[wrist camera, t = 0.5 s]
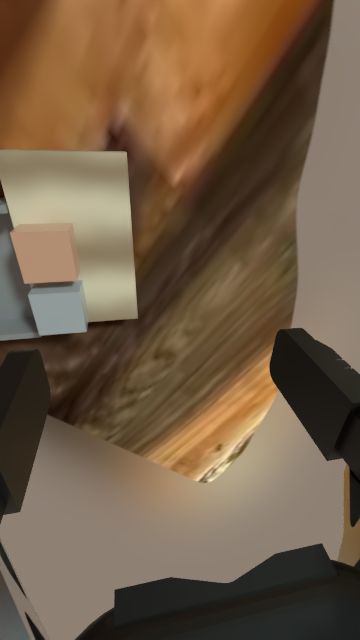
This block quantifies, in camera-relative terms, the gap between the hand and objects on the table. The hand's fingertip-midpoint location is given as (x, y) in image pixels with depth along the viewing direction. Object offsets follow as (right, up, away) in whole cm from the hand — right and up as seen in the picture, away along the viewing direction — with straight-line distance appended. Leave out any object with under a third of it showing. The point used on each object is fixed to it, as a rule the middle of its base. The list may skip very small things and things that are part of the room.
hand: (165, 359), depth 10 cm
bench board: (-9, +9, +17) cm, 21 cm away
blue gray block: (-10, +3, +17) cm, 20 cm away
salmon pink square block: (-10, +7, +14) cm, 19 cm away
